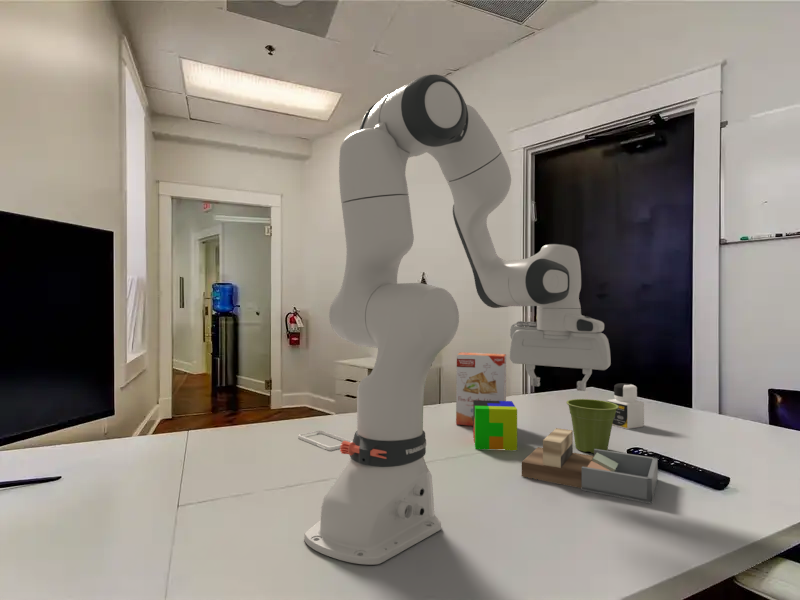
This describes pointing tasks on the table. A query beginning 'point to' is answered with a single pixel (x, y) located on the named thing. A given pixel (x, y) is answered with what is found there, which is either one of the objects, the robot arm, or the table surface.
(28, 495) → the table surface
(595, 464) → the tile terracotta
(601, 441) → the plant pot
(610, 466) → the tile sage
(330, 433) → the phone case
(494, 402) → the puzzle toy
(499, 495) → the table surface
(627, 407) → the medicine bottle
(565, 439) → the tall wooden pillar
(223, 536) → the table surface
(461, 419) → the cracker box
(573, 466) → the brown wooden block
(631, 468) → the tray
